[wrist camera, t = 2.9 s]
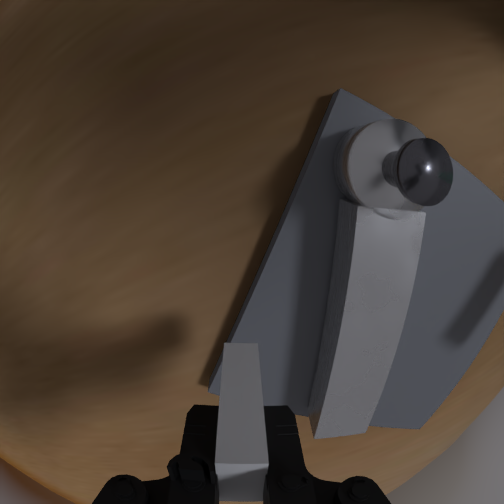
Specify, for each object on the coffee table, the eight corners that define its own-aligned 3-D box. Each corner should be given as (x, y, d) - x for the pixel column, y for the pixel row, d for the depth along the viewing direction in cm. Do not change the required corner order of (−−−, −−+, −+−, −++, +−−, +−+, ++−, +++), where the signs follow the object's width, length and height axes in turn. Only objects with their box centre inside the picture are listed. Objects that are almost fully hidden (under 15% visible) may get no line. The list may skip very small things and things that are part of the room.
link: (334, 118, 15) (377, 99, 10) (411, 132, 15) (472, 126, 10) (301, 411, 21) (313, 469, 15) (360, 405, 21) (382, 458, 16)
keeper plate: (333, 93, 16) (384, 57, 9) (525, 231, 19) (581, 255, 12) (209, 379, 22) (199, 455, 15) (415, 419, 25) (442, 469, 18)
